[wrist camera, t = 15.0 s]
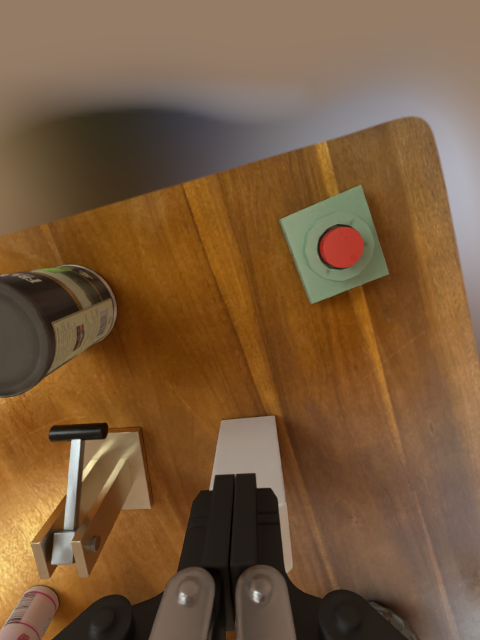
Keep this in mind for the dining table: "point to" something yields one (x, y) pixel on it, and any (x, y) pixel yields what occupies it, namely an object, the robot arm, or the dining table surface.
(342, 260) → the button
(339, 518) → the dining table surface
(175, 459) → the dining table surface
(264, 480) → the milk carton
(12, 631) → the beverage can
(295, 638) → the robot arm
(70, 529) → the lever handle
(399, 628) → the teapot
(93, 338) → the coffee can
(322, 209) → the button block
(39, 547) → the lever bracket
